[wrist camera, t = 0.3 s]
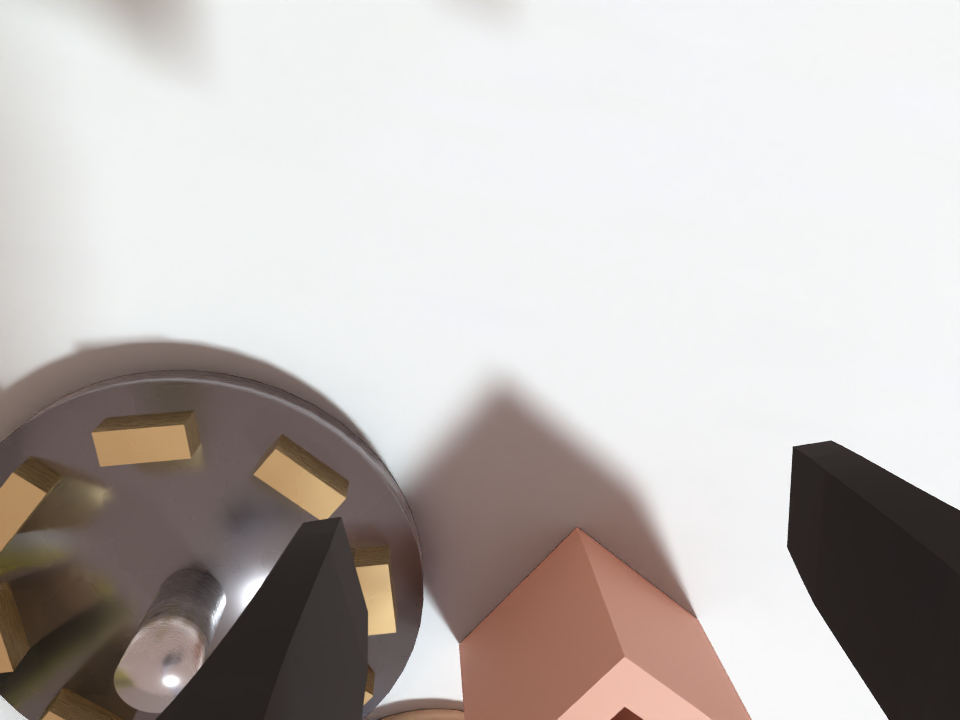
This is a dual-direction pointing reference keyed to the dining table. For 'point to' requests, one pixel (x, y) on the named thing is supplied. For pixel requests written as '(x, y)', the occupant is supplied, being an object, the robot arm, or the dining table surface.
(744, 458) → the dining table surface
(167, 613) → the hub
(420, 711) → the cork coaster
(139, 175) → the dining table surface
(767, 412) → the dining table surface
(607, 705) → the pink square tube
